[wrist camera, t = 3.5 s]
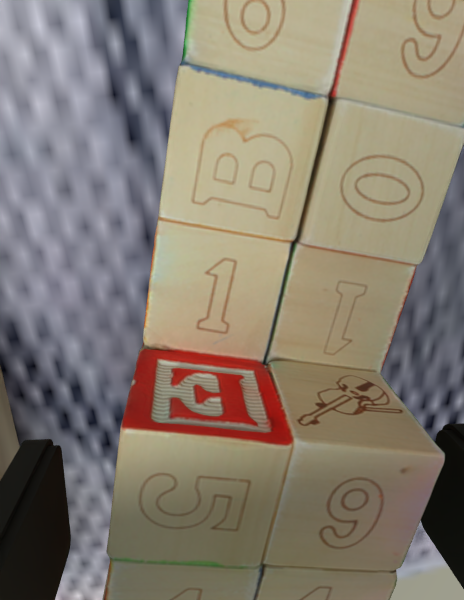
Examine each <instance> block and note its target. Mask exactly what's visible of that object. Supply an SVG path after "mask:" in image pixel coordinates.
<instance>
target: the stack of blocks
mask: <svg viewBox="0 0 464 600" xmlns="http://www.w3.org/2000/svg"><path fill="white" fill-rule="evenodd" d="M463 143H464V0H189V2H188V10H187V18H186V30H185V39H184V48H183V57H182V62H181V64H180V66H179V68H178V74H177V79H176V86H175V93H174V100H173V108H172V116H171V124H170V132H169V140H168V147H167V155H166V162H165V169H164V177H163V184H162V191H161V199H160V209H159V217H158V222H157V228H156V233H155V241H154V249H153V255H152V263H151V272H150V281H149V291H148V299H147V307H146V315H145V323H144V332H143V340H144V342H143V345H142V349H141V350H140V351H139V355H138V359H137V363H136V368H135V373H134V376H133V380H132V383H131V387H130V392H129V395H128V400H127V404H126V408H125V412H124V416H123V420H122V424H121V430H120V438H119V447H118V456H117V464H116V473H115V482H114V491H113V500H112V510H111V520H110V529H109V537H108V545H107V554H108V556H109V557H110V564H109V569H108V575H107V580H106V585H105V590H104V595H103V600H390V598H391V595H392V593H393V591H394V588H395V586H396V581H397V574H396V569H398V568H400V567H401V566H402V564H403V562H404V559H405V557H406V554H407V552H408V549H409V547H410V544H411V542H412V540H413V537H414V535H415V532H416V530H417V527H418V525H419V523H420V520H421V518H422V515H423V513H424V511H425V508H426V506H427V503H428V501H429V499H430V496H431V493H432V491H433V488H434V485H435V483H436V481H437V478H438V476H439V474H440V471H441V469H442V467H443V464H444V461H445V453H444V452H443V451H442V450H441V449H440V448H439V447H438V446H437V445H436V443H435V442H434V441H433V440H432V439H431V437H430V436H429V435H428V434H427V432H426V431H425V430H424V428H423V427H422V426H421V424H420V423H419V422H418V421H417V419H416V418H415V417H414V416H413V414H412V413H411V412H410V411H409V409H408V408H407V407H406V406H405V405H404V403H403V402H402V401H401V400H400V398H399V397H398V396H397V395H396V393H395V392H394V391H393V389H392V388H391V387H390V386H389V384H388V383H387V382H386V381H385V379H384V378H383V377H382V375H381V374H380V373H381V370H382V367H383V365H384V362H385V359H386V356H387V353H388V350H389V347H390V344H391V342H392V339H393V336H394V333H395V330H396V327H397V324H398V321H399V318H400V315H401V312H402V309H403V306H404V304H405V301H406V298H407V295H408V292H409V289H410V286H411V283H412V280H413V278H414V274H415V270H416V266H417V265H419V264H420V263H421V262H422V260H423V258H424V256H425V253H426V250H427V247H428V244H429V241H430V238H431V236H432V233H433V230H434V227H435V224H436V221H437V218H438V216H439V213H440V210H441V207H442V204H443V201H444V198H445V196H446V193H447V190H448V187H449V184H450V181H451V178H452V175H453V172H454V169H455V167H456V164H457V161H458V158H459V155H460V152H461V149H462V146H463Z"/></svg>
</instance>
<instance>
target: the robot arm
mask: <svg viewBox="0 0 464 600" xmlns="http://www.w3.org/2000/svg"><path fill="white" fill-rule="evenodd" d="M435 443H436V445H437V446H438V447H439V448H440V449H441V450H442V451H443V452H444V453H445V461H444V464H443V467H442V469H441V471H440V474H439V476H438V478H437V481H436V483H435V485H434V488H433V491H432V493H431V496H430V499H429V501H428V503H427V506H426V508H425V511H424V513H423V515H422V518H421V522H422V525H423V528H424V530H425V531H426V533H427V534H428V536H429V537H430V539H431V540H432V542H433V543H434V545H435V546H436V548H437V549H438V551H439V552H440V554H441V555H442V557H443V558H444V560H445V561H446V563H447V564H448V566H449V567H450V569H451V570H452V572H453V573H454V575H455V577H456V578H457V580H458V581H459V582H460V584H461V586H462V587H463V589H464V424H447V425H445V426H444V427H443V429H442V430H441V431H439V432H438V433H437V437H436V441H435ZM70 541H71V535H70V525H69V516H68V506H67V497H66V488H65V478H64V469H63V459H62V451H61V447H60V446H59V445H56V446H54V445H53V442H52V440H51V439H43V440H25V441H24V442H23V443H22V444H21V446H20V448H19V449H18V451H17V453H16V455H15V456H14V458H13V460H12V461H11V463H10V465H9V467H8V468H7V470H6V472H5V473H4V475H3V477H2V478H1V480H0V600H55V597H56V594H57V591H58V587H59V584H60V581H61V577H62V574H63V571H64V567H65V564H66V561H67V557H68V554H69V549H70Z"/></svg>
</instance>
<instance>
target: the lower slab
mask: <svg viewBox="0 0 464 600" xmlns="http://www.w3.org/2000/svg"><path fill="white" fill-rule="evenodd" d="M19 448H20V446H19V442H18V438H17V434H16V430H15V425H14V421H13V417H12V413H11V409H10V404H9V400H8V396H7V392H6V388H5V383H4V379H3V375H2V371H1V367H0V480H1V478H2V477H3V475H4V473H5V472H6V470H7V468H8V467H9V465H10V463H11V461H12V460H13V458H14V456H15V455H16V453H17V451H18V449H19Z"/></svg>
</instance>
